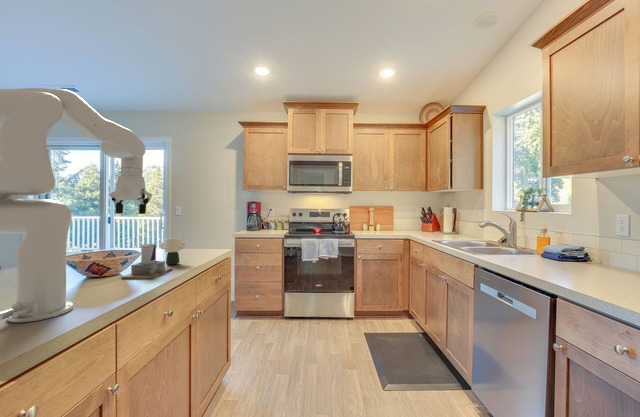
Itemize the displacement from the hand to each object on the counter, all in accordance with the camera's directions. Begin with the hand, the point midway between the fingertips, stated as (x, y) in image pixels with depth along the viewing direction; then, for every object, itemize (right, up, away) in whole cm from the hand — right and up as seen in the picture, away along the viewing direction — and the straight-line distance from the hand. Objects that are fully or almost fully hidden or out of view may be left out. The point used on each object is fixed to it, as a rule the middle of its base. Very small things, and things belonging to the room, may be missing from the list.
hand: (130, 213), depth 113 cm
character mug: (+4, -27, +25) cm, 36 cm away
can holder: (+5, -27, +5) cm, 27 cm away
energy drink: (+5, -26, +4) cm, 27 cm away
